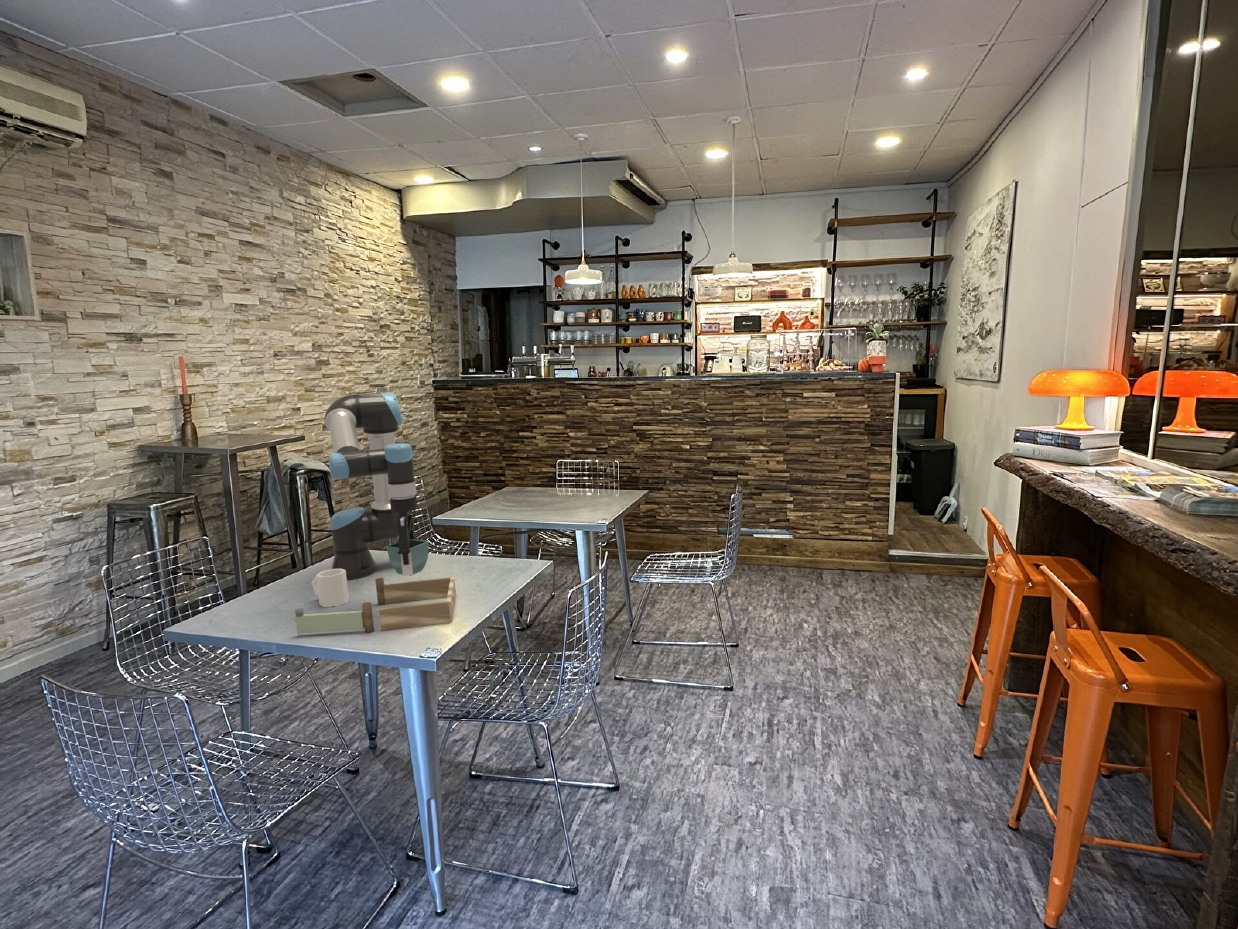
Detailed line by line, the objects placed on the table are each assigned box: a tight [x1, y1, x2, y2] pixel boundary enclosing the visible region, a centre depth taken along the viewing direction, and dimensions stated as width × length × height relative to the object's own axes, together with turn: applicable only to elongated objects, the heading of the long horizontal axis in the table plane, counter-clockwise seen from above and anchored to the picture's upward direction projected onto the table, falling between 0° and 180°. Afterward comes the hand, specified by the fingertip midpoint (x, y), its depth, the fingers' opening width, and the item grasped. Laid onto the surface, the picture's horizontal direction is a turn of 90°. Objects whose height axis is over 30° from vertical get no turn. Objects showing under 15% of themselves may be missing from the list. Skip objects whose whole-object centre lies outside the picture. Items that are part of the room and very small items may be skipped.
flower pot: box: [386, 539, 430, 576], centre depth 191 cm, size 9×9×9 cm
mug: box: [310, 568, 350, 608], centre depth 205 cm, size 12×9×10 cm
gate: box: [294, 607, 365, 634], centre depth 180 cm, size 18×2×7 cm, turn 93°
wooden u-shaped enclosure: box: [361, 576, 457, 634], centre depth 193 cm, size 24×24×8 cm
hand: (410, 568), depth 192 cm, fingers closed on flower pot, 12 cm apart
